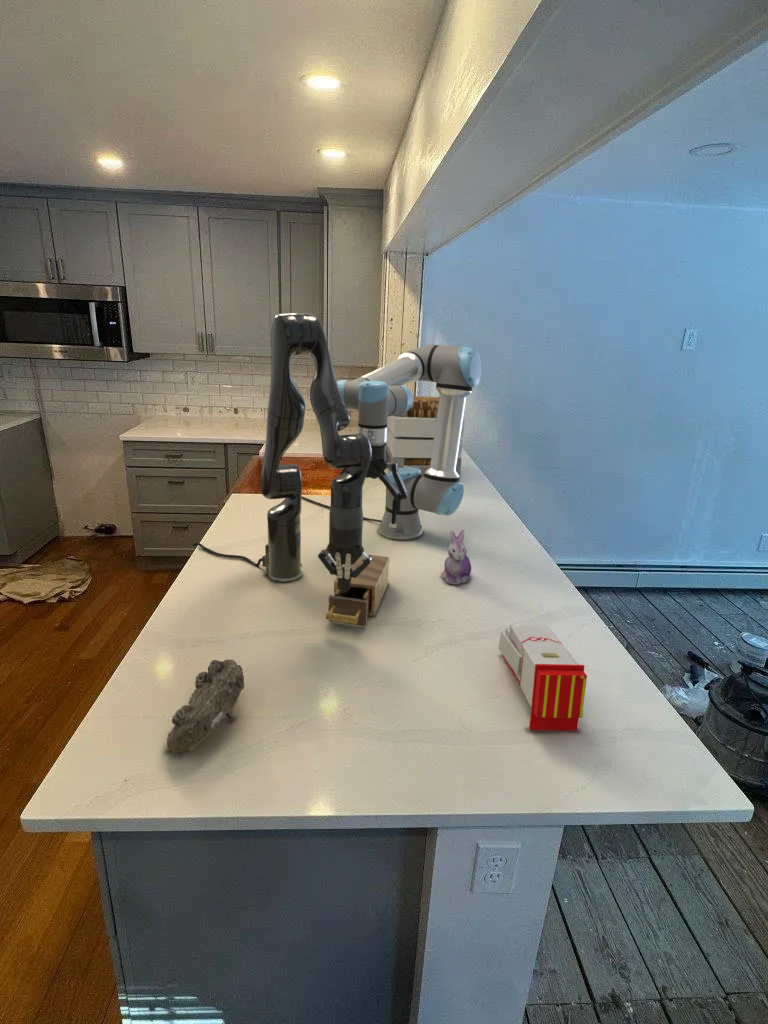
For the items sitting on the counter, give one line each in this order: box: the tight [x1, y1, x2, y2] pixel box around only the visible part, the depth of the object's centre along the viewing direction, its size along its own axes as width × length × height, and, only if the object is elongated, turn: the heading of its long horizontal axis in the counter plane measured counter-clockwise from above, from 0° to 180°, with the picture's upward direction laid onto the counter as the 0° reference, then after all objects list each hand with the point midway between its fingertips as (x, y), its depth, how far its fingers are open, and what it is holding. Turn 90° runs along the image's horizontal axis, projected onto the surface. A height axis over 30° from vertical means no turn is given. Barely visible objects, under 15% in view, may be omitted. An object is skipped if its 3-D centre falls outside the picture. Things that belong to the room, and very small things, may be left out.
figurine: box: [442, 529, 472, 585], centre depth 166 cm, size 9×10×15 cm
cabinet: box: [333, 553, 390, 617], centre depth 154 cm, size 19×11×9 cm, turn 169°
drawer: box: [325, 586, 372, 627], centre depth 144 cm, size 24×10×7 cm, turn 169°
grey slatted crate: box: [385, 395, 465, 482], centre depth 268 cm, size 34×33×41 cm
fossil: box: [166, 658, 245, 754], centre depth 106 cm, size 22×10×15 cm
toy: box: [498, 624, 588, 732], centre depth 119 cm, size 12×13×30 cm
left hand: (344, 591), depth 133 cm, fingers closed
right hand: (369, 519), depth 153 cm, fingers open, 13 cm apart
